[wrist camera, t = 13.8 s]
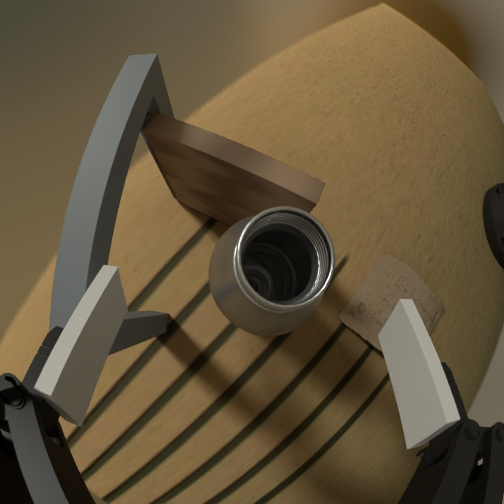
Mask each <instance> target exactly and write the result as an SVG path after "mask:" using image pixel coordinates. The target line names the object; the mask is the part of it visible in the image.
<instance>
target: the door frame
mask: <svg viewBox="0 0 504 504" xmlns="http://www.w3.org/2000/svg"><path fill="white" fill-rule="evenodd" d="M147 112H149V113H151V114H152V116H154V115H155V114H156V113H158V114H161V115H164V116H167V117H170V118H173V119H175V118H174V115H173V111H172V108H171V104H170V100H169V96H168V93H167V89H166V86H165V82H164V78H163V74H162V70H161V66H160V62H159V58H158V55H157V54H144V55H134V56H129V57H128V59H127V61H126V63H125V64H124V66H123V68H122V70H121V72H120V74H119V75H118V77H117V79H116V81H115V83H114V85H113V87H112V89H111V91H110V93H109V95H108V97H107V99H106V102H105V104H104V106H103V108H102V110H101V113H100V115H99V117H98V120H97V122H96V124H95V127H94V129H93V132H92V134H91V137H90V139H89V142H88V144H87V147H86V150H85V153H84V156H83V158H82V161H81V165H80V167H79V170H78V173H77V177H76V180H75V183H74V187H73V190H72V193H71V197H70V201H69V204H68V208H67V212H66V216H65V221H64V225H63V230H62V234H61V240H60V244H59V249H58V255H57V261H56V267H55V274H54V281H53V290H52V299H51V310H50V325H49V332H50V331H51V330H52V329H53V328H54V327H56V326H59V327H62V328H65V326H66V324H67V323H68V321H69V319H70V317H71V316H72V314H73V312H74V311H75V309H76V307H77V306H78V304H79V302H80V301H81V299H82V297H83V296H84V294H85V293H86V291H87V290H88V288H89V286H90V285H91V283H92V282H93V280H94V279H95V277H96V276H97V274H98V273H99V271H100V270H101V268H102V267H103V265H108V259H109V253H110V247H111V242H112V236H113V231H114V226H115V222H116V217H117V212H118V208H119V204H120V199H121V195H122V191H123V187H124V184H125V180H126V176H127V173H128V169H129V166H130V162H131V159H132V155H133V152H134V149H135V146H136V142H137V139H138V136H139V133H140V130H141V128H142V125H143V122H144V119H145V116H146V114H147ZM167 321H168V313H161V312H155V311H139V312H127V313H126V315H125V317H124V320H123V322H122V324H121V326H120V329H119V331H118V333H117V335H116V338H115V340H114V342H113V345H112V347H111V349H110V352H109V354H108V355H111V354H113V353H116V352H118V351H121V350H123V349H126V348H128V347H131V346H134V345H136V344H139V343H141V342H144V341H146V340H148V339H151V338H153V337H156V336H158V335H161V334H163V333H166V331H167Z"/></svg>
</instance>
